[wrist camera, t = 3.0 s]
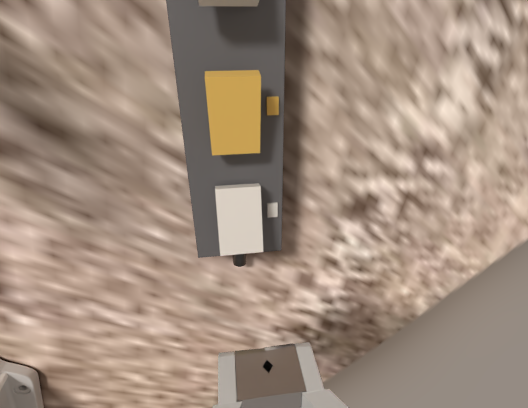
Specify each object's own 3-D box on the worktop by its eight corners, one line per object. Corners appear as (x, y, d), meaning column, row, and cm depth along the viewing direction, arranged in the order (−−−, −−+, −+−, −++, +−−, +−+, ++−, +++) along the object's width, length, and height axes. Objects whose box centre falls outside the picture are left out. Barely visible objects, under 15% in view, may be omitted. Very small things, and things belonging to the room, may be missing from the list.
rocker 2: (261, 245, 25) (263, 252, 24) (220, 249, 24) (220, 255, 23) (258, 183, 24) (260, 186, 22) (215, 185, 23) (215, 189, 22)
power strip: (273, 252, 32) (282, 282, 28) (203, 258, 31) (201, 290, 27) (275, -103, 20) (290, -141, 16) (160, -108, 19) (145, -149, 15)
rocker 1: (257, 144, 22) (260, 152, 21) (211, 146, 22) (211, 155, 21) (258, 69, 19) (261, 76, 18) (204, 71, 19) (204, 77, 18)
